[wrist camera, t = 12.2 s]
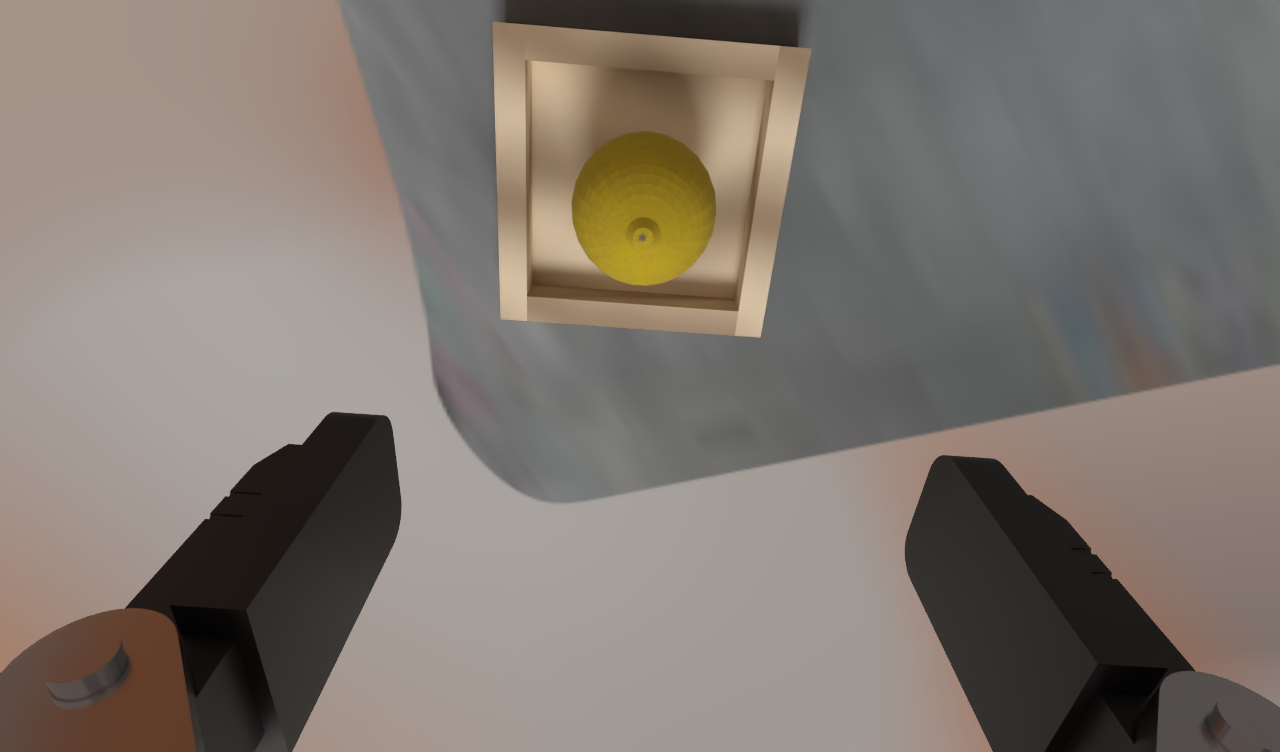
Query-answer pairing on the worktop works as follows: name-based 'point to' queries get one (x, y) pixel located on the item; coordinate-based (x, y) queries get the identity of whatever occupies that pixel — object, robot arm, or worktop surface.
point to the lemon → (643, 208)
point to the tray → (625, 103)
